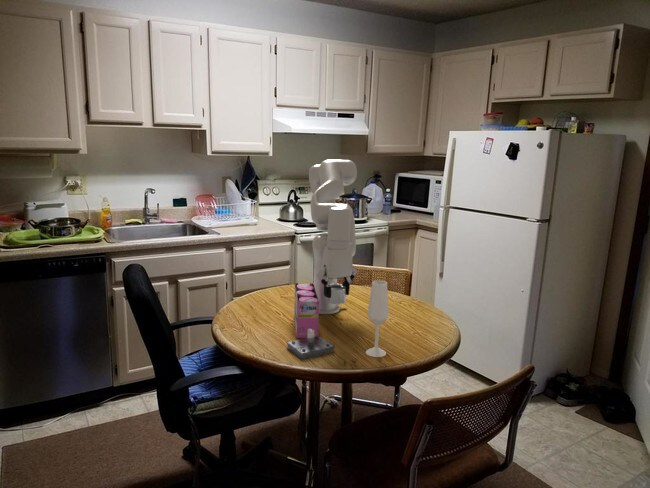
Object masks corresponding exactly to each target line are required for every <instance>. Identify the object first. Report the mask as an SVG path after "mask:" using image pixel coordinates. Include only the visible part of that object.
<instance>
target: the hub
mask: <svg viewBox="0 0 650 488" xmlns="http://www.w3.org/2000/svg"><path fill="white" fill-rule="evenodd" d="M330 287H331V298H327V297H325V301H327V302H328V303H331V304H341V305H342V304H346V303H345V301H346V302H347V295H346V288H347V286H345V285H343V283H337V284H336V283H333V284H330Z"/></svg>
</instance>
